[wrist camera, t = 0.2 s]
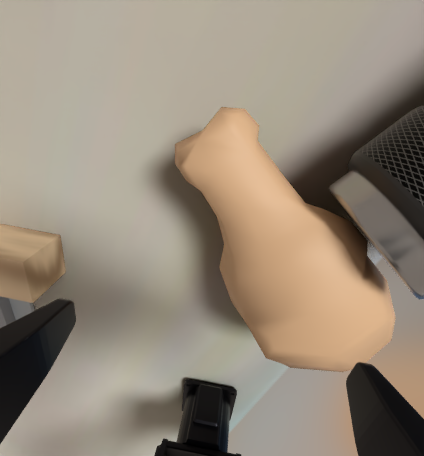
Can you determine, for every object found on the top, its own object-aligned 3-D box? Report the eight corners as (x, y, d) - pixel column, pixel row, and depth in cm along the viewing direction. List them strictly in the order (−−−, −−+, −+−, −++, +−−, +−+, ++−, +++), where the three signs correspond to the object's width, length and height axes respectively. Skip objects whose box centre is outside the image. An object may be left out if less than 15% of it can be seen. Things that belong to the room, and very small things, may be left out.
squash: (275, 325, 27) (284, 420, 19) (150, 164, 21) (90, 204, 13) (383, 283, 23) (452, 380, 15) (268, 73, 17) (283, 52, 9)
